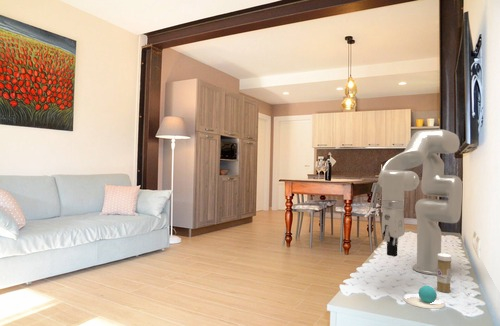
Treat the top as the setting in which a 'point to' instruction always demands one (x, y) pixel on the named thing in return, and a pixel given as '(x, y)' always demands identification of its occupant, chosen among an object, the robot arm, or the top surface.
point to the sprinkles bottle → (444, 272)
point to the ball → (427, 294)
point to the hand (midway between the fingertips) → (392, 255)
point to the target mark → (423, 303)
